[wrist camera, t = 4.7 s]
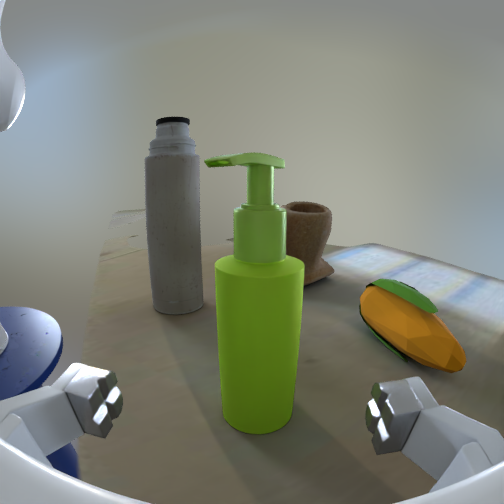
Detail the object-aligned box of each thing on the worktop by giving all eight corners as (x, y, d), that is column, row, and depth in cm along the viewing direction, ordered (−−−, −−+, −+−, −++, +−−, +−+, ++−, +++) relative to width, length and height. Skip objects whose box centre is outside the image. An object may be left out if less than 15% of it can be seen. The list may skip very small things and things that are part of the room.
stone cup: (298, 300, 47) (303, 205, 43) (251, 281, 56) (252, 201, 52) (349, 280, 56) (354, 204, 53) (304, 267, 65) (307, 199, 62)
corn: (392, 264, 39) (498, 318, 19) (388, 312, 41) (478, 381, 21) (348, 270, 38) (452, 340, 18) (346, 321, 40) (430, 408, 20)
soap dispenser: (199, 418, 21) (181, 155, 17) (251, 381, 26) (252, 160, 22) (256, 453, 18) (260, 145, 13) (304, 405, 23) (322, 158, 18)
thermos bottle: (160, 294, 48) (154, 126, 42) (205, 294, 49) (202, 122, 42) (147, 313, 41) (138, 116, 34) (200, 315, 41) (196, 111, 35)
